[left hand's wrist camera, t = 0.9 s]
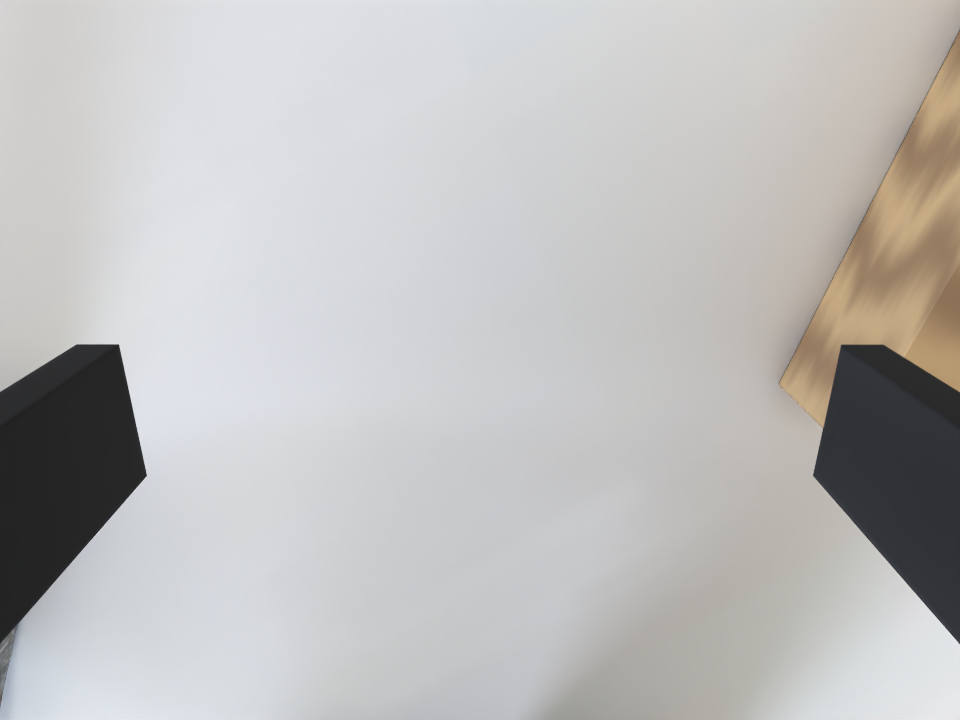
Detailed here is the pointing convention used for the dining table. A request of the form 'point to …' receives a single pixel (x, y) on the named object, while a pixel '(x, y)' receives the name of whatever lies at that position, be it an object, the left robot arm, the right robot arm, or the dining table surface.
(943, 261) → the beam
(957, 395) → the left robot arm
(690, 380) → the dining table surface
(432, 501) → the dining table surface
